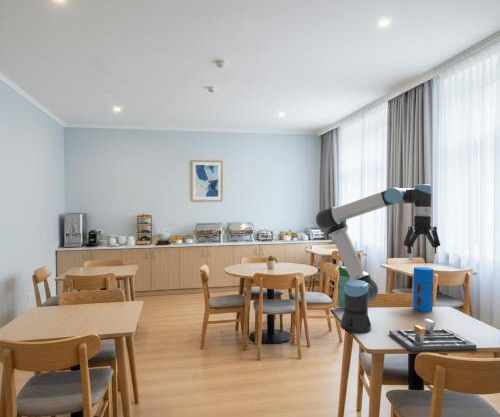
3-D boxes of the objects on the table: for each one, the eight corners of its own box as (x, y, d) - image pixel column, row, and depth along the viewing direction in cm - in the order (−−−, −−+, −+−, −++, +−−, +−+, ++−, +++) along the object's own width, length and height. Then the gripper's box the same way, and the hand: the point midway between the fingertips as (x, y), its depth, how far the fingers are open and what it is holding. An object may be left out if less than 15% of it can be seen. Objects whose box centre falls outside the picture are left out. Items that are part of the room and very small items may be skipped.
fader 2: (430, 335, 170) (430, 322, 170) (423, 331, 175) (424, 318, 175) (434, 335, 170) (434, 322, 170) (428, 331, 176) (428, 318, 175)
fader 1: (420, 343, 160) (420, 329, 160) (413, 338, 166) (414, 325, 165) (425, 343, 161) (425, 329, 160) (418, 338, 166) (418, 325, 166)
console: (411, 351, 157) (411, 343, 157) (388, 334, 177) (389, 327, 177) (476, 349, 159) (476, 342, 159) (447, 333, 180) (447, 326, 180)
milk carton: (349, 310, 216) (350, 268, 216) (338, 307, 224) (339, 266, 224) (360, 308, 221) (360, 267, 221) (348, 305, 229) (349, 265, 228)
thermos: (409, 309, 222) (410, 268, 221) (417, 305, 229) (418, 266, 229) (428, 313, 214) (429, 270, 213) (435, 309, 221) (436, 268, 221)
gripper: (404, 215, 175) (403, 261, 175) (449, 216, 177) (448, 261, 177) (396, 215, 183) (395, 259, 183) (439, 215, 185) (439, 259, 185)
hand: (421, 260), depth 180 cm, fingers open, 10 cm apart
